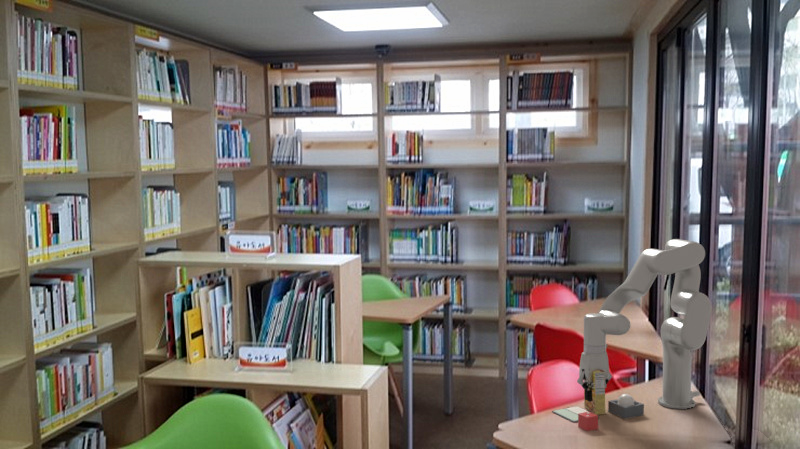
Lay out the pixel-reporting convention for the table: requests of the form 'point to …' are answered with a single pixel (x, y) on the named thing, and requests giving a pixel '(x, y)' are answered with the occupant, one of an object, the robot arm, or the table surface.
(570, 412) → the striped board
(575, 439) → the table surface
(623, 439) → the table surface
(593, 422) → the red die
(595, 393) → the candy box
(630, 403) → the white round ball
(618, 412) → the housing
